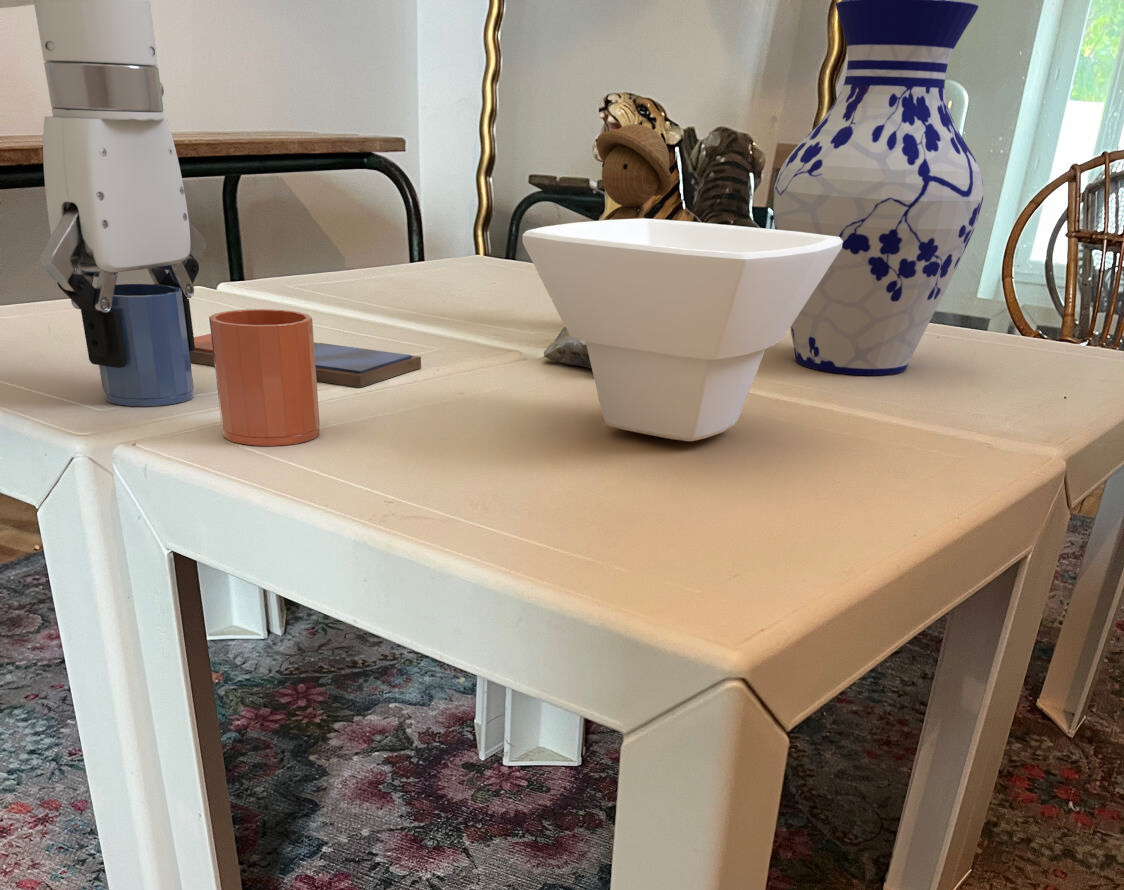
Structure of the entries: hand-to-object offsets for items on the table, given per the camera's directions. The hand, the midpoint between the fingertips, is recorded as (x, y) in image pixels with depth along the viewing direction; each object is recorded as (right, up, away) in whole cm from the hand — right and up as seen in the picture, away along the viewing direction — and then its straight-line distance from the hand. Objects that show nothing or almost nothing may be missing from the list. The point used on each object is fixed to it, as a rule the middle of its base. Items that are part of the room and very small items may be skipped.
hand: (143, 355), depth 88 cm
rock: (+36, +5, +17) cm, 41 cm away
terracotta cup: (+12, -8, -7) cm, 16 cm away
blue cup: (0, -3, +2) cm, 3 cm away
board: (+8, +5, +15) cm, 17 cm away
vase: (+62, +7, +24) cm, 67 cm away
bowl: (+41, -7, -3) cm, 42 cm away
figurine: (+40, +15, +36) cm, 56 cm away
